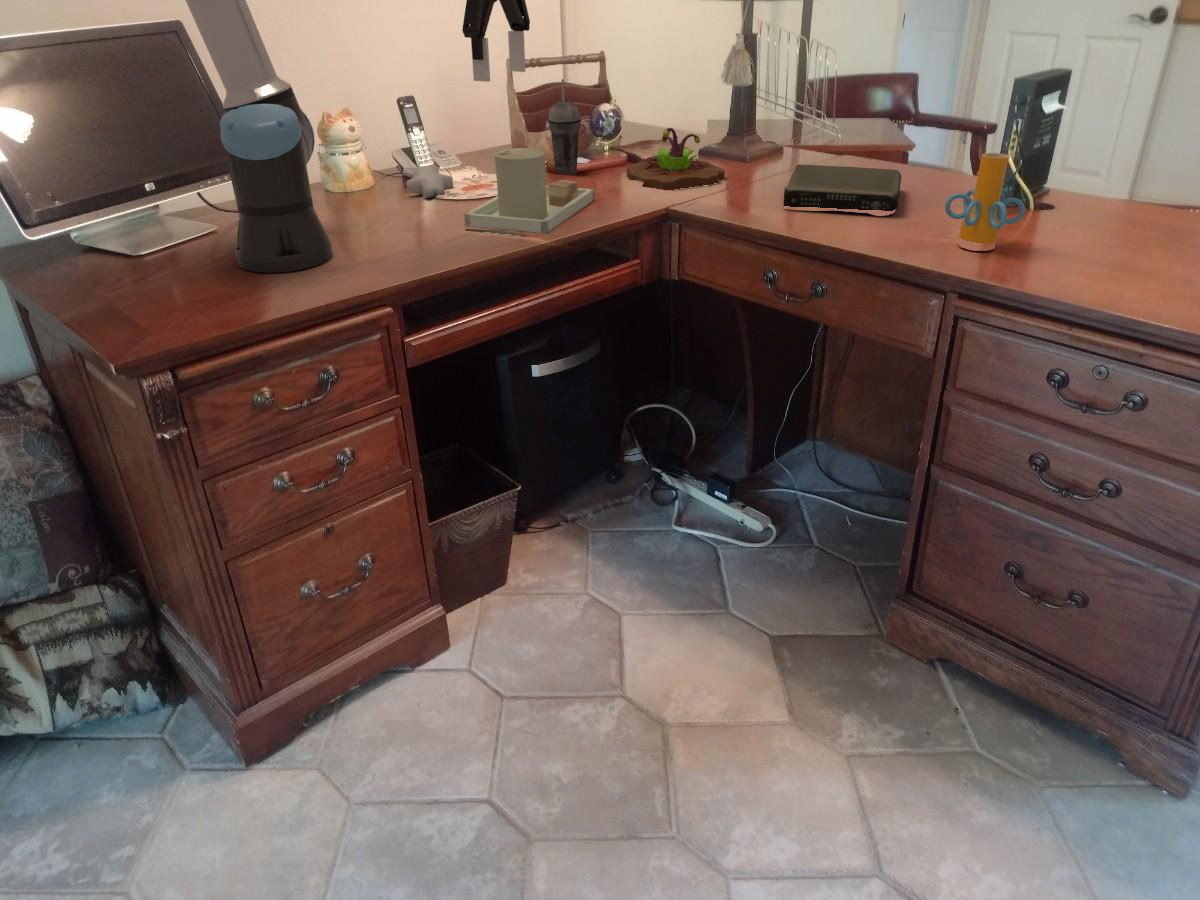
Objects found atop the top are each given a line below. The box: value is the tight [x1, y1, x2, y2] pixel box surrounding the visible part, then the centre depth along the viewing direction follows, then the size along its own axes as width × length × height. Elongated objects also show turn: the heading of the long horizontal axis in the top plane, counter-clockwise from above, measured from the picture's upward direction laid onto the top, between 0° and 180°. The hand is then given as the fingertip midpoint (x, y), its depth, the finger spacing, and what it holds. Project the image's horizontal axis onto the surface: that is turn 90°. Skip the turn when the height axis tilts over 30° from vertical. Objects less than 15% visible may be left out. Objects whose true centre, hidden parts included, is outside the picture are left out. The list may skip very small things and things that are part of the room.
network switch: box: [783, 164, 902, 211], centre depth 173 cm, size 23×24×5 cm
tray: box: [463, 185, 595, 237], centre depth 166 cm, size 24×16×3 cm, turn 160°
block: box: [547, 179, 579, 207], centre depth 170 cm, size 4×4×4 cm
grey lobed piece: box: [401, 164, 454, 199], centre depth 183 cm, size 10×5×15 cm
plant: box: [626, 127, 726, 191], centre depth 189 cm, size 20×20×11 cm
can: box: [494, 147, 548, 220], centre depth 160 cm, size 9×9×12 cm
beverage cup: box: [547, 78, 582, 177], centre depth 191 cm, size 7×7×20 cm
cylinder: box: [944, 152, 1026, 243], centre depth 144 cm, size 12×10×15 cm
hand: (500, 76), depth 151 cm, fingers open, 13 cm apart
